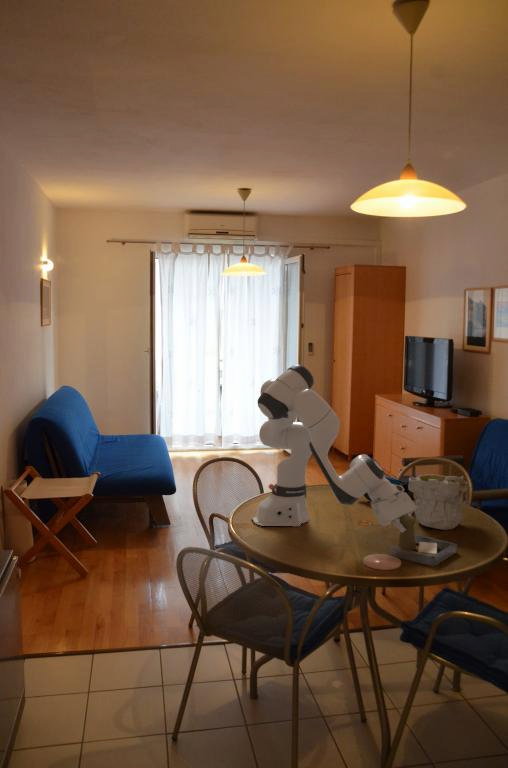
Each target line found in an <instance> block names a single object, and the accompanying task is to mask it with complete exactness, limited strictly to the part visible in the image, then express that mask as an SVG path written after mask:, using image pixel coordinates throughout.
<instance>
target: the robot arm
mask: <svg viewBox="0 0 508 768" xmlns="http://www.w3.org/2000/svg"><path fill="white" fill-rule="evenodd" d="M314 382H315V381H314V376H313V374H312V373H311V372H310V370H309V369H308V368H306V367H305V366H304V365H302V364H294V365H292V366H290V367H288V368H287V369H286V370H285V371H284V372H283V373H281V374H280V375H279V376H277V378H271V379H268V380H266V381H265V382H263V384H262V385H261V387H260V395H259V397H258V398H257V406H258V408H259V410H260V412H261V413H262V414H263V415H264V417H265V416H266V418H267V419H268V420H267V421H265V422H264V423H262V425H261V427H260V429H259V432H258V433H259V440H260V441H261V442H260V443H262V445H264V446H266V447H269V448H273V449H280V450H290V455H289V456H288V457H285V458H283V459H281V460H280V461H279V462H278V464H277V466H276V483H275V484H273V483H269V484H268V488H269V490H271V494H269V495H268V496H267V497H266V498H264V499H263V500H262V501H261V502H259V503H258V506H257V511H256V514H257V516H256V517H254V518H253V520H254V522H256V523H257V524H259V525H262V526H293V527H300V526H299V525H301V524H302V523H303V524H305V523H304V522H306V523H307V522H309V520H310V517H309V514H308V510H307V509H308V508H307V503H306V502H307V501H306V498H307V484H306V472H307V471H306V470H307V464H308V462H309V459H310V458H311V456H313V458H314V459H315V460H314V461H316V463H317V466H319V468H320V470H321V472H322V474H323V476H324V477H325V479H326V481H327V483H328V484H329V486H330V488H331V491H332V494H333V496H334V498H335V499H336V500H337V501H338V503H340V504H341V505H348V506H352V505H354V504H355V503H356V502H357V501H359V500H360V498H361V497H362V496H364V494H365V493H366V492H367V493H368V495H369V497H370V498H371V500H372V501H371V505H370V507H371V509H372V513H373V514H374V516H375V518H376V520H377V521H378V523H379V524H380V525H381V526H383V527H385V526H389V525H390V524H392V526H393V527H395V528H396V529H398V530H399V532H400V531H401V533H403V532H405V531H406V530H407V528H406V527H405V526H404V525H402V524H401V523H400V518H401V517H402V516H412V517H413V515H412V514H413V513H415V510H416V506H415V502H414V501H412V500H411V498H410V497H409V496H408V494H407V493H405V492H403V491H404V488H403V487H402V486H401V484H400V485H394V484H391V483H390V482H389V480H387V479H386V478H385V477H384V474H385V470H384V469H383V467H382V466H381V464H380V463H379V462H378V461H377V460H376V459H375V458H371V457H370V456H369V455H368V454H364V453H363V454H360V455H357V456H356V457H354V458H353V459H352V460H351V462H350V464H349V467H350V468H349V469H348V470H347V471H345V472H344V473H343V474H340V475H339V474H338V473H337V472H336V470H335V468H334V466H333V464H332V463H331V460H330V459H329V456H328V455H329V454H328V453H329V451H330V449H331V447H332V445H333V444H334V442H335V441H336V439H337V436H338V434H339V433H340V432H339V431H340V428H341V422H340V419H339V416H338V415H337V414H336V412H335V411H334V409H333V408H332V407H331V406H330V405H329V404H328V402H327V401H326V400H325V399H324V398H323V397H322V396H320V394H318V393H317V392H316V391H314V390H313V389H312V387H313V386H314ZM297 419H298V420H299V421H296V420H297ZM303 524H302V525H303ZM302 525H301V526H302ZM415 526H416V523H415V525H414V527H415Z"/></svg>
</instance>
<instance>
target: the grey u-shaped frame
mask: <svg viewBox="0 0 508 768" xmlns="http://www.w3.org/2000/svg"><path fill="white" fill-rule="evenodd" d="M414 534H415V543H416V545H419V542H427V543H437V550H440V551H439V552H437V554H435V555H434V556H430V555H426V554H422V553H418V552H417V551H415V550H413V551H411V550H407V549H403V548H399V547H398V546H395V545H389V549H388V551H389V552H388V553H389V554H388V555H391V556H394V557H397V558H398V559H403V560H407V561H411V562H415V563H419V564H423V565H426V566H428V567H429V566H430V567H433V568H435V567H436V566H438V565H439V564H441V563H442V562H443V561H446V560H447V559H448V557H449V558H450V557H452V556H454V555H455V554H457V553H456V552H457V550H458V543H454V542H450V541H447V540H446V541H445V540H441V539H437V538H433V537H430V536H425V535H420V534H416V533H414ZM453 554H454V555H453ZM445 559H446V560H445ZM440 562H441V563H440Z"/></svg>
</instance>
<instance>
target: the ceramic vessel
mask: <svg viewBox="0 0 508 768" xmlns="http://www.w3.org/2000/svg"><path fill="white" fill-rule="evenodd" d="M408 482H409V486H408V489H409V490H410V491H411V492H413V495H414V494H415V496H416V498H415V502H414V504H415V506H416V510H415V511H414V515H415V519H416V520H417V521H418V522H419V524H420V525H422V526H424V527H427V528H432V529H437V530H441V531H449V529H450V530H453V529H455V528H457V526H458V525H459V524H460V523H461V521H462V519H463V505H464V504H466V503H468V502H469V500H468V490H469V486H468V485H469V484H468V482H467V481H466V480H465V477H464V475H462V476H456V475H449V476H448V475H447V476H446V475H443V474H442V475H441V474H434V473H430V474H429V473H428V474H427V473H426V474H421V475H417V476H416V477H415V476H410V477H409V478H408Z"/></svg>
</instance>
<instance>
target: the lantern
mask: <svg viewBox="0 0 508 768" xmlns="http://www.w3.org/2000/svg"><path fill="white" fill-rule="evenodd" d="M384 477H385V478H386V479H387V480H389V482H390V483H391V484H394V485H400V486H402V487H403V488H404V491H403V492H405V493H407V494H408V496H409V497H410V498H411V500H412V501H413V502H414V501H416V498H415V496H414V493H413V492H411V491H410V490H409V489H408V486H409V481H408V482H404V481H401V480H400V479H397V478H395V477H393V476H390V475H387V474H385V473H384ZM363 497H364V498H365V499H366V500H368V501H369V505H370V506H371V501H372V500H371V498H370V497H369V495H368V493H367V492H366V493H365V494H364V495H363Z"/></svg>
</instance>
